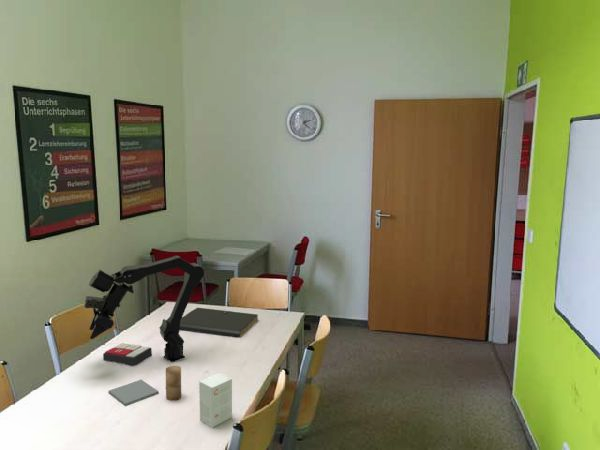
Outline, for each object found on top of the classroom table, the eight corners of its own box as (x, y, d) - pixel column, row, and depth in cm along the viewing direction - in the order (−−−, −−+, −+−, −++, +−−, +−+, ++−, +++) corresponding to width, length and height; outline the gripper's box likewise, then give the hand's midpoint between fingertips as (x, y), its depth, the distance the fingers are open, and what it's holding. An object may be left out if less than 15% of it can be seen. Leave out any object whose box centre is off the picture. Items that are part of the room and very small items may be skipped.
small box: (219, 410, 155) (219, 372, 153) (232, 417, 151) (232, 378, 149) (199, 420, 149) (198, 380, 147) (212, 428, 145) (212, 387, 143)
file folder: (258, 313, 239) (239, 331, 216) (258, 321, 239) (239, 340, 216) (197, 306, 247) (173, 322, 224) (197, 314, 248) (173, 331, 225)
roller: (176, 391, 167) (175, 364, 165) (184, 396, 163) (183, 369, 162) (163, 396, 163) (162, 368, 162) (171, 402, 160) (170, 373, 158)
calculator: (121, 341, 200) (151, 345, 195) (122, 351, 201) (152, 356, 196) (102, 351, 190) (133, 356, 185) (103, 362, 191) (134, 366, 185)
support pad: (141, 381, 173) (141, 379, 173) (158, 393, 165) (158, 391, 165) (108, 392, 165) (108, 390, 165) (125, 406, 157) (125, 403, 156)
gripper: (93, 281, 184) (70, 316, 183) (95, 295, 168) (69, 334, 166) (119, 294, 189) (97, 328, 188) (124, 308, 172) (99, 347, 171)
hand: (90, 334), depth 178 cm, fingers open, 9 cm apart
